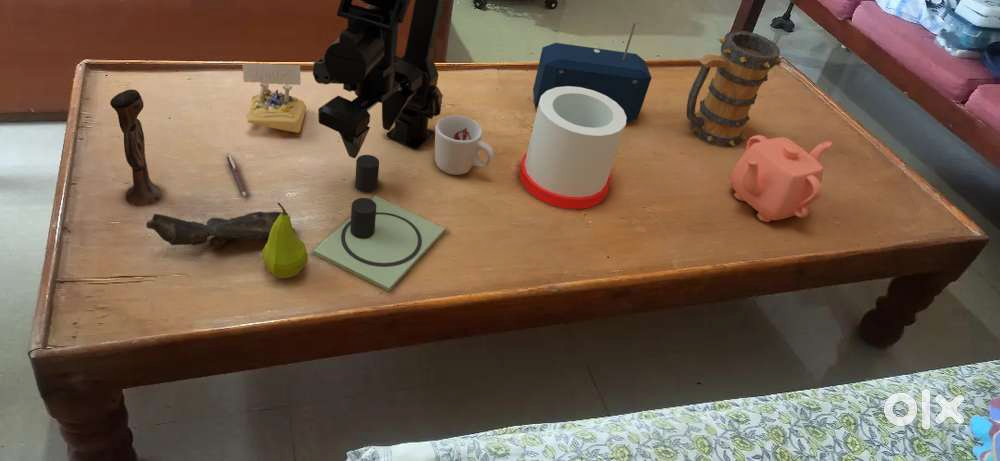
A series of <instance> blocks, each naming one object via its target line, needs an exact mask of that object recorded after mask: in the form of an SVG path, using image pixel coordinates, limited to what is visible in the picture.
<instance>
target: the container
mask: <svg viewBox="0 0 1000 461" xmlns="http://www.w3.org/2000/svg"><path fill="white" fill-rule="evenodd" d="M626 118H627V117H626V115H625V113H624V110H623V109H622V108H621V107H620V106H619V105H618V104H617V103H616V102H615V101H613V100H612V99H610V98H609V97H607V96H606V95H603V94H601V93H598V92H596V91H594V90H590V89H586V88H581V87H571V86H565V87H556V88H553V89H550V90H547V91H546V92H545V93H544V94H543V95H541V98H540V101H539V105H538V108H537V109H536V114H535V118H534V122H533V127H532V131H531V135H530V138H529V143H528V148H527V151H526V153H524V154H523V155H522V159H521V163H520V167H519V171H518V175H519V180H520V183H521V184H522V186H523V188H524V189H526V191H527V193H530V195H532V196H533V197H534V198H536V199H537V200H539V201H541V202H543V203H546V204H547V205H549V206H553V207H558V208H562V209H565V210H566V209H568V210H583V209H587V208H593V207H594V206H596V205H598V204H600V203H601V202H602V201H603V200H604V198H606V197H607V194H608V190H609V188H610V183H611V176H610V173H611V171H612V167H613V164H614V161H615V158H616V155H617V152H618V149H619V146H620V143H621V140H622V138H623V134H624V132H625V128H626V124H627V123H626Z"/></svg>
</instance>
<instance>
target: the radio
mask: <svg viewBox="0 0 1000 461" xmlns="http://www.w3.org/2000/svg"><path fill="white" fill-rule="evenodd" d="M636 24H637V22H633V24H632V26H631V30H630V32H629V37H628V40H627V43H626V46H625V49H624V51H619V50H612V49H605V48H597V47H590V46H583V45H575V44H569V43H560V42H553V43H551V44H548V45H545V46H543V47H542V48H541V53H540V56H539V57H540V58H539V61H538V66H537V70H536V75H535V80H534V84H533V88H532V93H533V99H534V106H535V108H537V109H538V105H539V101H540V98H541V95H543V94H544V93H545V92H546V91H547V90H550V89H553V88H556V87H565V86H571V87H581V88H586V89H590V90H594V91H596V92H598V93H601V94H603V95H606V96H607V97H609V98H610V99H612V100H613V101H615V102H616V103H617V104H618V105H619V106H620V107H621V108H622V109H623V110H624V113H625V115H626V117H627V118H626V124H629V123H631V122H634V121H637V120H639V116H640V113H641V111H642V107H643V105H644V101H645V99H646V96H647V93H648V90H649V87H650V85H651V82H652V75H651V72H650V69H649V67H648V64H647V62H646V60H644V59H643V58H642V57H640V55H639V54H637V53H633V52H628V50H629V47H630V43H631V40H632V37H633V34H634V30H635V27H636Z"/></svg>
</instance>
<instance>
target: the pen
mask: <svg viewBox="0 0 1000 461" xmlns="http://www.w3.org/2000/svg"><path fill="white" fill-rule="evenodd" d="M226 158H227V161H228V163H229V167H230V169H231V171H232V173H233V176H234V179H235V181H236V183H237V186H238V188H239V191H240V193H241V195H242V196H243V197H244V198H246V197H247V192H246V189H245V186H244V184H243V181H242V179H241V176H240V174H239V170H238V168H237V165H236V163H235V161H234V159H233V157H232V154H230V153H227V154H226Z"/></svg>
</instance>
